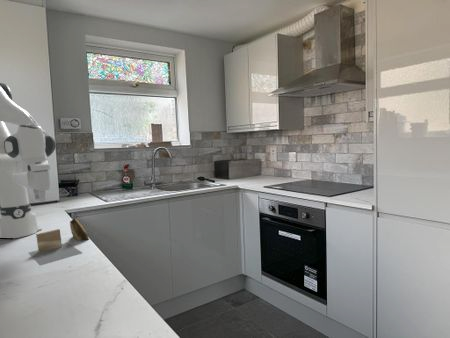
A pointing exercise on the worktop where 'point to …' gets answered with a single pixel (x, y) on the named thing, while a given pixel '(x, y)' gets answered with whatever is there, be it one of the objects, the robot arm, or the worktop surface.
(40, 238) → the coaster
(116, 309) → the worktop surface
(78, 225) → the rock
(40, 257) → the mat
